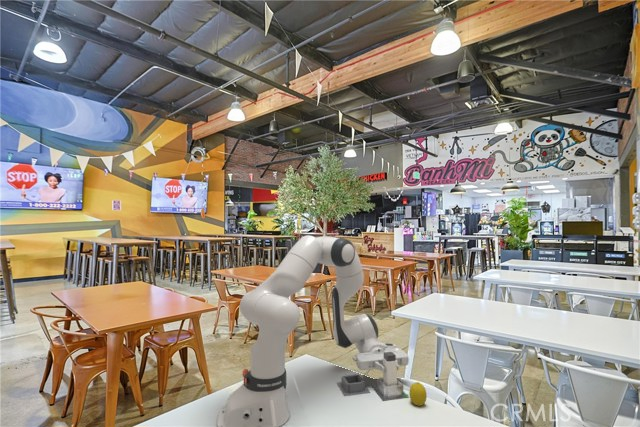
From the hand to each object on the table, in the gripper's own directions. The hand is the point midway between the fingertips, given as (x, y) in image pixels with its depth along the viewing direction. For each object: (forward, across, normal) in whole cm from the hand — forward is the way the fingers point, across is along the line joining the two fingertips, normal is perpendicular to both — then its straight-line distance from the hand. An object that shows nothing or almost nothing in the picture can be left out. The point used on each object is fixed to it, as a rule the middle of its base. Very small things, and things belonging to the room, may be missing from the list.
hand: (390, 368), depth 114 cm
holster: (-7, -12, +10) cm, 17 cm away
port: (-1, 0, +10) cm, 10 cm away
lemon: (+8, +6, +10) cm, 14 cm away
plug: (-1, 0, +7) cm, 7 cm away
